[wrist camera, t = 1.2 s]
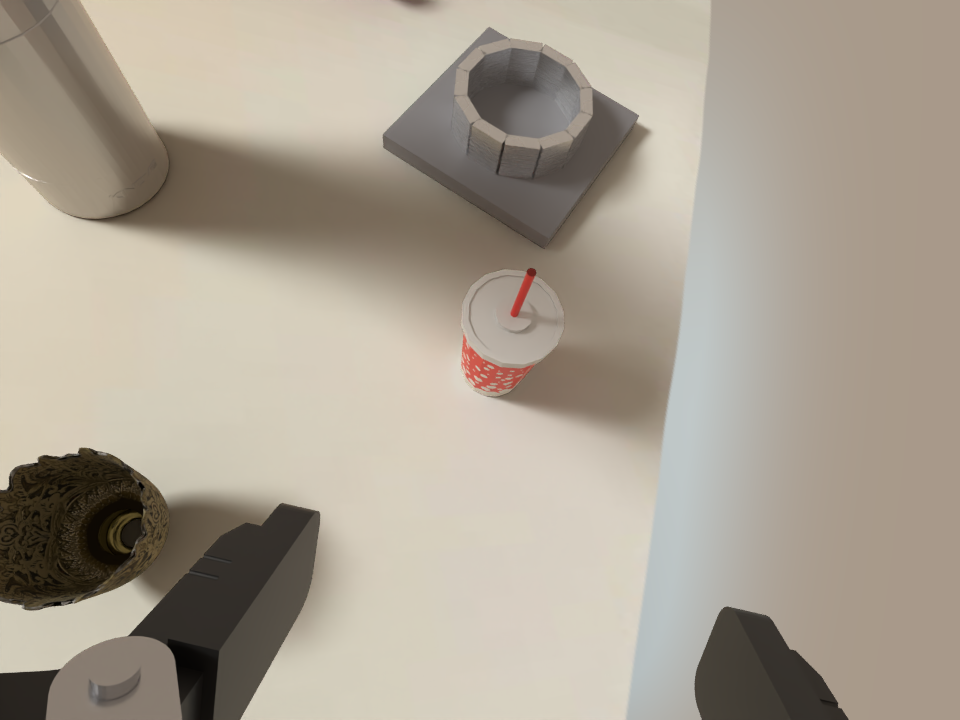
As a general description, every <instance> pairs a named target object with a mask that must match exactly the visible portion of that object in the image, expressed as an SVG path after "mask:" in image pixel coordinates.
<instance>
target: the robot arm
mask: <svg viewBox="0 0 960 720" xmlns="http://www.w3.org/2000/svg"><path fill="white" fill-rule="evenodd" d="M0 154H1V155H2V156H3V157H4V158H5V159H6V160H7V161H8V162H9V163H10V164H11V165H12V166H13V167H14V168H15V169H16V170H17V171H18V172H19V173H20V174H21V175H22V176H23V177H24V178H25V179H26V180H27V181H28V182H29V183H30V184H31V185H32V186H33V187H34V188H35V189H36V190H37V191H38V192H39V193H40V194H41V195H42V196H43V197H44V198H45V199H46V200H47V201H48V202H49V203H50V204H51V205H53V206H54V207H56V208H57V209H58V210H60V211H62V212H65V213H67V214H69V215H72V216H77V217H82V218H94V219H100V218H108V217H115V216H118V215H121V214H125V213H128V212H130V211H132V210H134V209H136V208H138V207H140V206H142V205H143V204H144V203H146V202H147V201H149V200H150V199H151V198H152V197H153V196H154V195H155V194H156V193H157V192H158V191H159V190H160V188H161V186H162V185H163V183H164V181H165V179H166V176H167V173H168V169H169V158H168V154H167V150H166V148H165V147H164V145H163V143H162V141H161V140H160V138H159V136H158V134H157V133H156V131H155V129H154V127H153V126H152V124H151V122H150V120H149V119H148V117H147V115H146V114H145V112H144V110H143V108H142V106H141V104H140V103H139V101H138V99H137V98H136V96H135V94H134V92H133V91H132V89H131V87H130V86H129V84H128V82H127V80H126V79H125V77H124V75H123V74H122V72H121V70H120V68H119V67H118V65H117V63H116V62H115V60H114V58H113V56H112V55H111V53H110V51H109V50H108V48H107V46H106V44H105V43H104V41H103V39H102V38H101V36H100V34H99V32H98V31H97V29H96V27H95V26H94V24H93V22H92V20H91V19H90V17H89V15H88V14H87V12H86V10H85V8H84V7H83V5H82V3H81V2H80V0H0ZM319 525H320V513H319V511H315V510H310V509H306V508H302V507H297V506H293V505H288V504H284V503H281V504H280V505H279V506H278V507H277V508H276V509H275V510H274V511H273V513H272V514H271V515H270V516H269V517H268V519H267V520H266V521H265V522H264V523H263V525H262V526H259V525H254V524H250V523H245V524H243V525H241V526H239V527H237V528H235V529H233V530H231V531H230V532H228V533H226V534H224V535H222V536H221V537H220V538H219V539H218V540H217V541H216V542H215V543H214V544H213V545H212V546H211V547H210V549H209V550H208V551H207V552H206V553H205V554H204V557H203V558H200V559H199V560H198V561H197V563H196V564H195V565H194V566H193V567H192V568H191V569H190V571H189V573H188V574H185V575H184V577H183V578H182V579H181V580H180V581H179V582H178V583H177V584H176V585H175V586H174V587H173V588H172V589H171V590H170V592H169V593H168V594H167V595H166V596H165V597H164V598H163V599H162V600H161V601H160V602H159V603H158V604H157V606H156V607H155V608H154V609H153V610H152V611H151V612H150V613H149V614H148V615H147V616H146V617H145V618H144V620H143V621H142V622H141V623H140V624H139V625H138V626H137V627H136V628H135V629H134V630H133V631H132V632H131V634H130V635H129V636H127V637H120V638H114V639H111V640H107V641H104V642H101V643H99V644H96V645H94V646H92V647H90V648H88V649H86V650H84V651H83V652H81V653H80V654H78V655H76V656H75V657H74V658H72V659H71V660H70V661H69V662H68V663H66V665H65V666H64V667H63V668H62V669H58V670H50V671H36V672H17V673H0V720H240V719H241V717H242V715H243V713H244V712H245V710H246V708H247V706H248V704H249V703H250V701H251V699H252V697H253V695H254V694H255V692H256V690H257V688H258V686H259V685H260V683H261V681H262V679H263V678H264V676H265V674H266V672H267V670H268V669H269V667H270V665H271V663H272V661H273V660H274V658H275V656H276V654H277V652H278V651H279V649H280V647H281V645H282V644H283V642H284V640H285V638H286V636H287V635H288V633H289V631H290V629H291V627H292V626H293V624H294V622H295V620H296V618H297V617H298V615H299V613H300V611H301V609H302V607H303V605H304V602H305V600H306V597H307V594H308V591H309V588H310V584H311V580H312V574H313V567H314V560H315V553H316V546H317V539H318V532H319ZM695 697H696V703H697V706H698V709H699V712H700V715H701V718H702V720H848V718H847V716H846V715H845V713H844V712H843V710H842V709H840V708H838V702H837V701H836V699H835V697H834V696H833V694H832V693H831V691H830V690H829V688H828V686H827V685H826V683H825V682H824V680H823V678H822V677H821V676H820V675H819V674H818V673H817V672H816V671H815V670H814V669H813V668H812V667H811V666H810V665H809V664H808V663H807V662H806V661H805V660H804V659H803V658H802V657H801V656H800V655H799V654H798V653H797V652H796V651H794V650H790V649H789V647H788V646H787V644H786V643H785V641H784V639H783V637H782V636H781V634H780V633H779V631H778V629H777V627H776V626H775V624H774V622H773V621H772V620H771V619H770V618H769V617H768V616H766V615H762V614H757V613H753V612H749V611H745V610H740V609H736V608H731V607H724V608H723V609H722V610H721V611H720V613H719V615H718V617H717V620H716V622H715V625H714V627H713V630H712V632H711V635H710V637H709V640H708V642H707V645H706V648H705V650H704V652H703V655H702V657H701V660H700V662H699V665H698V667H697V671H696V676H695Z"/></svg>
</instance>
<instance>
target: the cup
mask: <svg viewBox="0 0 960 720" xmlns="http://www.w3.org/2000/svg"><path fill="white" fill-rule="evenodd" d="M78 453H79V454H66V455H65V456H62V457H57V456H54V457H53V456H48V455H43V456H40V457H38V463H33V464H26V465H20V466H17V467H15V468H14V469H13V470H12V471H11V472H10V476H9V487H8V488H7V490H0V601H2V602H5V603H11V604H18V605H22V608H23V609H25V610H40V609H43V608H46V607H51V606H64V605H67V604H71V603H77V602H79V601H82V600H85V599H88V598H91V597H94V596H97V595H100V594H103V593H106V592H109V591H111V590H114V589H116V588H118V587H120V586H122V585H124V584H126V583H128V582H130V581H131V580H133V579H134V578H136V577H137V576H138V575H140V574H141V573H142V572H143V571H145V570H146V569H147V568H148V567H149V566H150V565H151V564H152V562H153V561H154V560H155V559H156V557H157V556H158V554H159V553H160V551H161V549H162V548H163V545H164V543H165V541H166V537H167V534H168V529H169V513H168V508H167V504H166V502H165V500H164V498H163V496H162V494H161V493H160V491H159V490H158V489H157V488H156V487H155V485H154V484H152V483H151V482H150V481H149V480H148V479H147V478H146V477H144V476H143V475H141V474H140V473H139V472H137V471H136V470H134V469H133V468H131V467H130V466H128V465H126V464H125V463H124V462H123V461H121V460H120V459H118V458H117V457H115V456H113V455H111V454H108V453H104V452H99V451H95V450H93V449H90V448H79V451H78ZM136 519H140V520H142V522H141V530H142V533H143V534H142V535H141V536H140V537H139V538H138V539H137V540H136V543H135V546H134V547H128V546H126V545H124V544H123V542H122V540H121V532H122V529H123V528H124V526H125V525H126V524H127V523H129V522H130V521H132V520H136Z"/></svg>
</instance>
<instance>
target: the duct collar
mask: <svg viewBox="0 0 960 720" xmlns="http://www.w3.org/2000/svg"><path fill="white" fill-rule="evenodd" d="M572 62H573V60H571V59H570V58H568V57H566V56H564V55H563V54H561V53H559V52H558V51H556V50H554V49H553V48H551V47H549V46H547V45H546V44H545V45H544V46H543V43H537V42H531V41H524V40H518V39H511V38H510V41H509V40H508V39H504V40H500V41H497V42H493V43H489V44H485V45H481V46H479V47H478V48H475V49H474V50H473V51H472V52H471V53H470V54H469V56H468V57H467V58H466V59H465V60H464V61H463V62H462V63H461V64H460V65H459V66H458V68H457V70H456V81H455V91H454V101H453V112H452V122H451V128H452V130H451V131H452V132H453V134H454V136H455V138H456V139H457V141H458V143H459V145H460V146H461V148H462V150H463V151H464V153H465V155H468V158H470V159H471V160H473V161H475V162H476V163H478V164H479V165H481V166H483V167H484V168H486V169H487V170H489V171H491V172H492V173H494V174H496V173H497V172H498V175H499V176H507V177H515V178H522V179H530V180H531V177H532V178H533V179H536V178H539V177H542V176H544V175H547V174H550V173H553V172H556V171H559V170H562V168H564V167H565V166H566V164H567V163H568V162H569V160H570V159H571V158H572V157H573V155H574V154H575V153H576V151H577V150H578V149H579V147H580V145H581V142H582V140H583V137H584V135H585V133H586V130H587V128H588V125H589V123H590V120H591V118H592V115H593V101H592V88H591V85H590V83H589V82H588V80H587V79H586V78H585V76H584V75H583V73H582V72H581V70H580V69H579V67H578V66H577V64H576V63H572ZM502 83H511V84H518V85H525V86H532V87H533V88H535V89H537V90H539V91H540V92H542V93H544V94H545V95H547V96H549V97H550V98H552V99H554V100H555V101H556V103H557V104H558V106H559V107H560V109H561V110H562V112H563V113H564V115H565V116H566V118H567V119H568V127H567V129H566V130H564V131H561V132H558V133H554V134H551V135H548V136H545V137H542V138H539V139H538V138H530V137H523V136H516V135H508V134H506V133H504V132H503V131H501V130H499V129H498V128H496V127H495V126H493V125H491V124H490V123H488V122H486V121H485V120H483V119H481V117H480V116H479V114H478V112H477V111H476V109H475V107H474V106H473V104H472V102H471V101H470V100H471V99H472V98H473V97H474V96H475V95H476V94H477V93H478V92H479V91H480V90H481V89H484V88H488V87H491V86H495V85H498V84H502Z"/></svg>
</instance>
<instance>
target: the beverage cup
mask: <svg viewBox="0 0 960 720" xmlns="http://www.w3.org/2000/svg"><path fill="white" fill-rule="evenodd" d="M535 275H536V270H535V269H533V268H530V269H528V270H527V272H525V271H521V270H509V269H502V270H499V271H495V272H492V273H488V274H485V275H484V276H483V277H481V278H480V279H479V280H478V281H476V282H475V283H474V284H472V285H471V287H470V289H469V291H468V292H467V294H466V296H465V298H464V300H463V302H462V316H461V327H462V330H463V332H464V336H463V347H462V359H461V372H462V374H463V377H464V380H465V382H466V383H467V384H468V385H469V386H470V387H471V388H472V389H473V390H474V391H476V392H478V393H480V394H482V395H484V396H496V397H498V396H501V395H504V394H507V393H509V392H510V391H511V390H512V389H513V388H515V387H516V386H517V385H518V384H519V383H520V381H521V380H522V379H523V378H524V377H525V376H526V375H527V373H528V372H529V371H530V370H531V369H532V368H533V366H534V365H535V364H536V363H539V362H540V361H542V360H543V359H544V358H545V357H546V356H547V355H548V354H549V353H551V352H552V351H553V349H554V348H555V347H556V346H557V344H558V342H559V340H560V337H561V335H562V333H563V330H564V310H563V307H562V305H561V303H560V301H559V299H558V296H557V294H556V292H555V291H554V290H553V289H551V288H550V287H549V286H548V285H547V284H546V283H545V282H544V281H543V280H542V279H541V278H538V277H536V276H535Z"/></svg>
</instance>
